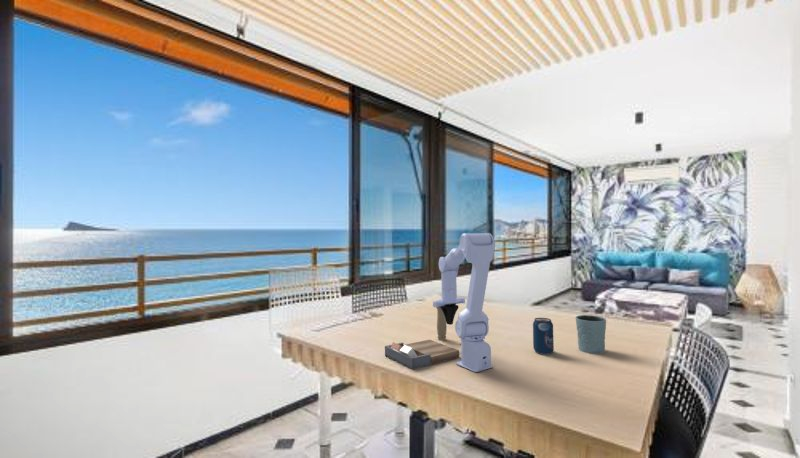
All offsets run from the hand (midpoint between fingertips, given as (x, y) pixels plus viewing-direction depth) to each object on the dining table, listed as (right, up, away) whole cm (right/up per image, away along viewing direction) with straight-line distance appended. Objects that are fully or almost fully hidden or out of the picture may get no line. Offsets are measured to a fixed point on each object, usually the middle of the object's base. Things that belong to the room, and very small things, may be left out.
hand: (449, 324), depth 139 cm
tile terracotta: (-19, -6, -9) cm, 21 cm away
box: (-16, -9, -12) cm, 23 cm away
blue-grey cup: (+52, -9, -4) cm, 53 cm away
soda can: (+34, -9, -6) cm, 35 cm away
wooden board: (-8, -9, -7) cm, 14 cm away
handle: (-1, -10, +13) cm, 16 cm away
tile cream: (-15, -5, -15) cm, 22 cm away
